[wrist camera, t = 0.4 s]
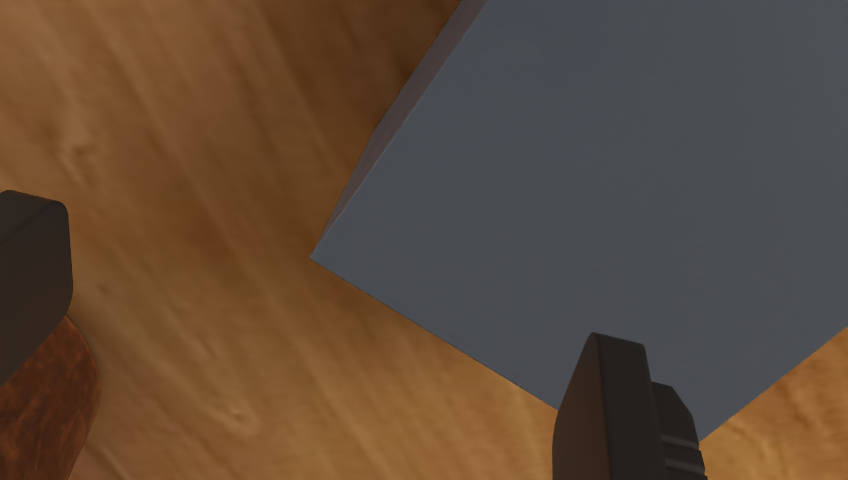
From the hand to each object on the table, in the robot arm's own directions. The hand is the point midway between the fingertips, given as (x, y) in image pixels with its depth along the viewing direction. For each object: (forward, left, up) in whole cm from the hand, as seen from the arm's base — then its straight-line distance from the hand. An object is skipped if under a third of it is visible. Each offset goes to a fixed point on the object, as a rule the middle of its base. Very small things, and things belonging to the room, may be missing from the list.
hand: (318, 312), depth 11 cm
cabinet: (+5, +5, -18) cm, 19 cm away
